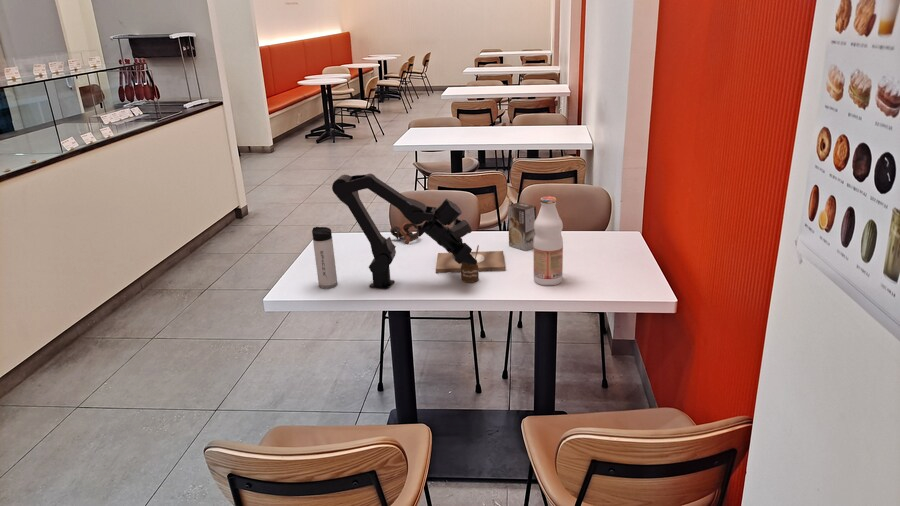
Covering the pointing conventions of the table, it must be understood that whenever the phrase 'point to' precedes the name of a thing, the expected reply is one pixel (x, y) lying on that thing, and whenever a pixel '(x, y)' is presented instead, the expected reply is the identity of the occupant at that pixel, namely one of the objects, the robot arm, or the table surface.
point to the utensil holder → (470, 271)
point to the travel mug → (324, 257)
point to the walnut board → (484, 259)
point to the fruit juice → (548, 244)
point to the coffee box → (521, 225)
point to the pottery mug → (405, 232)
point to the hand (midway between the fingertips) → (473, 260)
